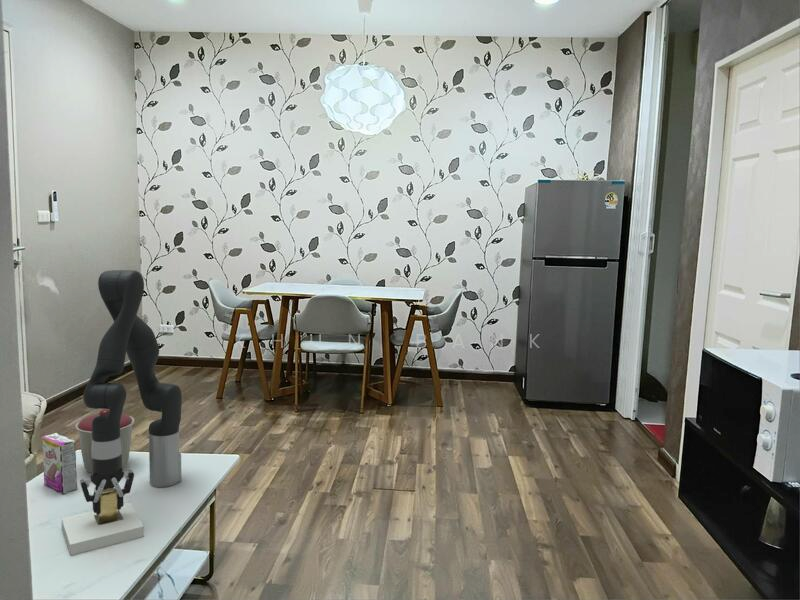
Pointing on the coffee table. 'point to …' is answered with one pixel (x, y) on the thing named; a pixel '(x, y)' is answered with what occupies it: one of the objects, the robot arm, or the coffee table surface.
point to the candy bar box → (59, 463)
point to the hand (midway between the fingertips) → (108, 510)
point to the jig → (100, 530)
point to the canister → (86, 437)
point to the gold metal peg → (108, 506)
